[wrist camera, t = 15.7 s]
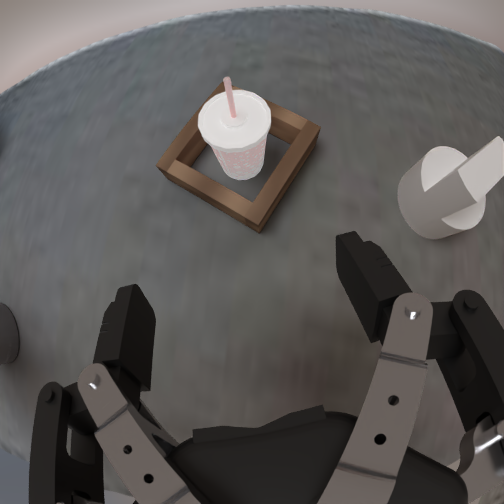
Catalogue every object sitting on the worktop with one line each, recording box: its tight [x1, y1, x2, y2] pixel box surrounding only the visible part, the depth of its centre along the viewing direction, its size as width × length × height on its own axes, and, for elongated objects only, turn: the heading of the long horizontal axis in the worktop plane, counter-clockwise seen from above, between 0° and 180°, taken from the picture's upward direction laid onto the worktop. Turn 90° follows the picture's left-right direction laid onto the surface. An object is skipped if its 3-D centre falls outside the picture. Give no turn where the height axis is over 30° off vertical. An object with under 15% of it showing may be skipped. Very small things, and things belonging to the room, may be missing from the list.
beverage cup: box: [198, 77, 271, 180], centre depth 24 cm, size 6×6×14 cm
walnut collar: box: [156, 82, 321, 233], centre depth 29 cm, size 12×12×4 cm
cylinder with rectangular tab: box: [397, 136, 504, 240], centre depth 24 cm, size 9×9×12 cm
